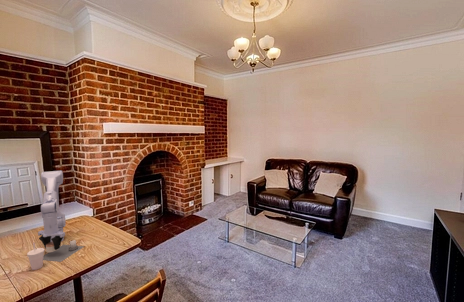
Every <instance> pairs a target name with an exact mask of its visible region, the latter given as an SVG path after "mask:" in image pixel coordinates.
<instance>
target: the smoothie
mask: <svg viewBox="0 0 464 302" xmlns="http://www.w3.org/2000/svg"><path fill="white" fill-rule="evenodd" d="M32 245H33V246H32V247H33V249H30V251H28V252H27V253H26V254H27V255H26V256H27V258H28V261H29V265H30V267H31V270H32V271H36V270H39V269H41V268H42V267H43V266H44V265H43V264H44V260H43V256H44V255H45V252H46V249H45V247H37V248H36V243H35V242H33V244H32Z"/></svg>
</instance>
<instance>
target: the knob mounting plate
mask: <svg viewBox="0 0 464 302" xmlns="http://www.w3.org/2000/svg"><path fill="white" fill-rule="evenodd" d="M84 247H85V246H83V245H77V240H75V239H74V240H70V242H69V244H61V245H60V248H59V249H58V250H56V251H54V252H47V253H46V254H44V256H43V261H48V262H49V261H50V262H57V263H58V262H59V263H61V262H63V261H65V260H66V259H67V258H69V257H71V256H72V255H73V254H76V253H77V252H78V251H80V250H82V249H83V248H84Z"/></svg>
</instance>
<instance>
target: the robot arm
mask: <svg viewBox="0 0 464 302" xmlns="http://www.w3.org/2000/svg"><path fill="white" fill-rule="evenodd" d="M40 180H41V183H42V185H43V186H44V187H46V191H45V192H44V193H43V199H42V204H41V205H40V212H41V217H42V222H43V229H42V230H40V231H38V232H37V236H39V237H38V239H39V240H40V242H41V243H42V245H43V246H44V247H43V248H44V250H46V244H47V243H49V242H52V241H53V244H54V249H55V250H57V249H59V248H60V246H61V245H62V244H61V243H62V242H63V241H64V239H65V236H66V232H65V231H64V228H65V227H66V215H65V214H64V213H63V212H60V203H59V201H60V199H59V188H60V186H61V185H63V182H64V173H63V170H53V171H42V172H41V173H40Z"/></svg>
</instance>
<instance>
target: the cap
mask: <svg viewBox="0 0 464 302" xmlns="http://www.w3.org/2000/svg"><path fill="white" fill-rule="evenodd" d="M57 250H58V249H57ZM54 251H56V250H55V249H54V244H53V241H52V242H49V243H47V244H46V249H45V252H46V253H49V252H54Z"/></svg>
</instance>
